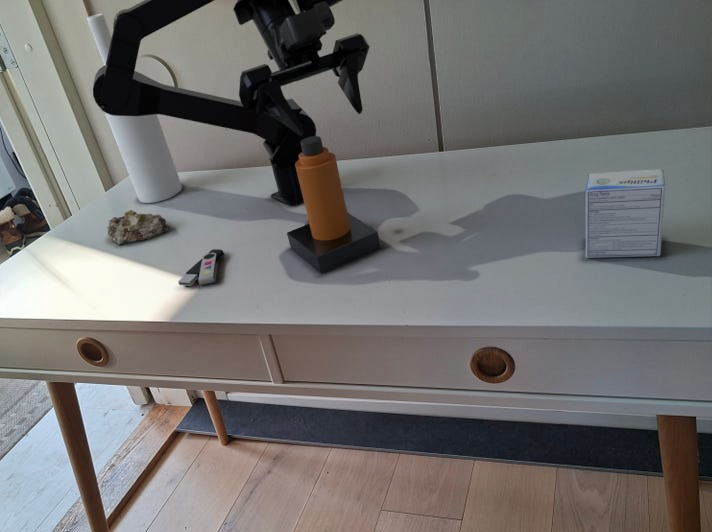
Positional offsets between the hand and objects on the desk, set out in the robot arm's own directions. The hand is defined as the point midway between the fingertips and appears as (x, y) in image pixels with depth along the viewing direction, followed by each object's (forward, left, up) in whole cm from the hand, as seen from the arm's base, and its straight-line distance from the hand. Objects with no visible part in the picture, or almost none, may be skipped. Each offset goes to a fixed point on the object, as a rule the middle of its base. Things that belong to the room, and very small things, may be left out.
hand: (331, 122), depth 96 cm
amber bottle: (+7, -8, -11) cm, 15 cm away
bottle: (-40, -13, -14) cm, 44 cm away
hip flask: (+7, -8, -14) cm, 17 cm away
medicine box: (+38, +11, -14) cm, 42 cm away
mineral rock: (-27, -23, -14) cm, 38 cm away
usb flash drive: (-3, -22, -14) cm, 26 cm away
